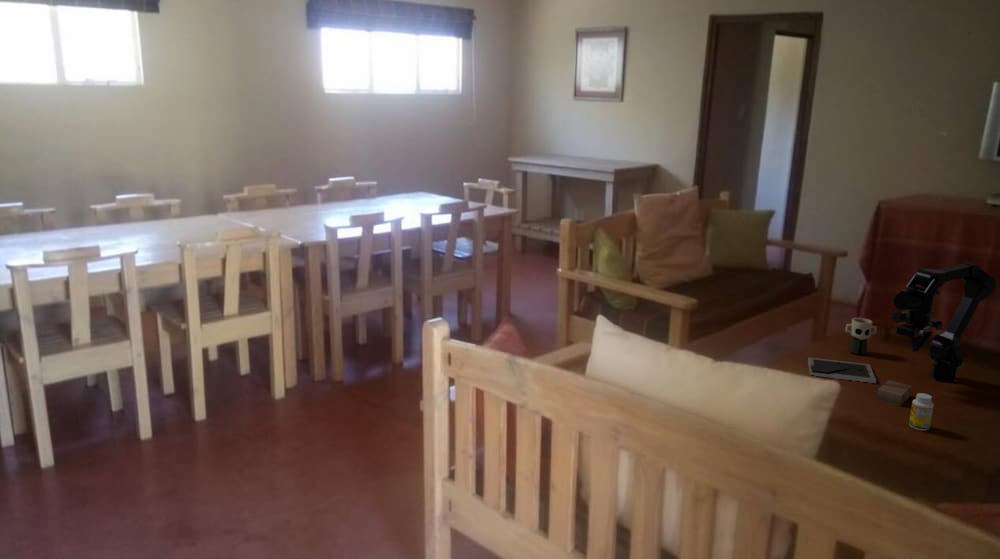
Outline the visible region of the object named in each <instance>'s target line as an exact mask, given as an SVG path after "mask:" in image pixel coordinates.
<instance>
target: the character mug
mask: <svg viewBox="0 0 1000 559" xmlns="http://www.w3.org/2000/svg"><path fill="white" fill-rule="evenodd" d="M849 327H850V329H849ZM877 328H878V326H876V325H873V320H870V319H868V318H862V317H854V318H852V319H851V323H847V324H846V325H845V333H850V336H852V338H851V341H850V345H849V350H848V351H850V352H851V353H853V354H856V355H858V354H861V355H866V354H868V340H867V339H869V338H871V335H876V334H877ZM872 329H873V331H872Z"/></svg>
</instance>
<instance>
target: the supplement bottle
mask: <svg viewBox="0 0 1000 559" xmlns="http://www.w3.org/2000/svg"><path fill="white" fill-rule="evenodd" d="M932 398H933V397H932V395H930V394H928V393H922V392H920V393H919V392H918V393H917V394H916V397H915V399H913V400H912V402H911V408H910V414H909V421H908V425H909V426H910V427H911V428H912V429H914V430H917V431H928V430H930V428H931V423H932V417H933V413H934V406H935V403H933V402H932Z"/></svg>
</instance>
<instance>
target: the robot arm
mask: <svg viewBox="0 0 1000 559" xmlns="http://www.w3.org/2000/svg"><path fill="white" fill-rule="evenodd" d="M960 279H962V280H963V281H964V284H963V293H964V294H963V297H962V299H961V301H960V303H959V304H958V307H957V308H956V311H955V312H954V314H953V316H952V318H951V319H950V322H949V324H948V325H947V327H946V329H945V331H944V332H942V334H935V336H934V337H933V340H932V341H931V342H930V346H929V355H930V359H931V360H934V363H932V364H931V370H930V373H929V374H930V376H931V377H932V378H933V380H935V381H936V382H943V383H944V382H946V383H948V382H949V383H957V379H956V374H957V368H959V367H960V366H962V365H963V363H964V361H965V360H964V358H963V357H962V355H961V354H960V350H961V348H962V346H961V337H962V336H963V333H964V332H965V329H966V328H967V326H968V325H969V323H970V321H971V319H972V317H973V315H974V313H975V311H976V310H977V308H978V306H979V305H980V302H981V301H984V300H985V299H986V298H988V297H990V295H991V294H992V292H993V291H994V290H995V288H996V286H997V283H996V280H995V278H994V277H992V276H991V275H989V273H987V272H985V271H984V269H983V270H982V268H980V266H978V265H977V264H974V263H970V262H962V263H960V264H955V265H952V266H948V267H944V268H939V269H931V268H920V269H918V270H917V271H916V272H915V273H914V275H913V277H912V278H911V279H910V281H908V283H907V285H906V286H905V289H903V288H901V289H900V292H899V293H897V294H896V295H895V296H894V298H893V304H894V305H893V306H894V307H895V308H896V309H898V310H900V311H897V310H896V311H893V312H892V314H891V315H892V316H891V320H892V321H894V323H895V324H898V323H903V324H899V325H898V326H896V328H895V334H897V335H901V336H905V337H908V338H910V341H911V346H912V351H913V352H919V350H920V349H921V348H922V346H923V345H924V344H925V342H926V341H927V340H929V338H930V336H931V335H933V332H932V331H930V330H929V328H935V330H936V331H940V330H942V329H943V322H942V321H941V320H939V319H935V318H932V315H935V310H933V308H934V302H935V297H936V296H937V295H940V293H941V292H940V291H939V290H938V289H940V288H942V287H943V286H944V284H946V283H949V282H951V281H952V282H953V281H955V280H956V281H957V280H960ZM906 310H908V311H906Z"/></svg>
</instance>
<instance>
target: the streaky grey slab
mask: <svg viewBox="0 0 1000 559" xmlns="http://www.w3.org/2000/svg"><path fill="white" fill-rule="evenodd" d="M911 391H912V385H909V384H905V383H901V382H898V381H894V380H890V379H888V380H887V381H886V382H884V383H883V384H882V385H881V386H880V387H879V388H877V393H876V394H877V395H876V399H877V400H876V401H879V400H881V401H880V402H882V401H885V402H884V403H886V402H889V403H888V404H890V403H892V404H891V405H893V404H895V405H894V406H897V405H899V406H898V407H900V406H901V405H902V404H904V402H906V401H907V399H908V398H909V397H910V396H911Z"/></svg>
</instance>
